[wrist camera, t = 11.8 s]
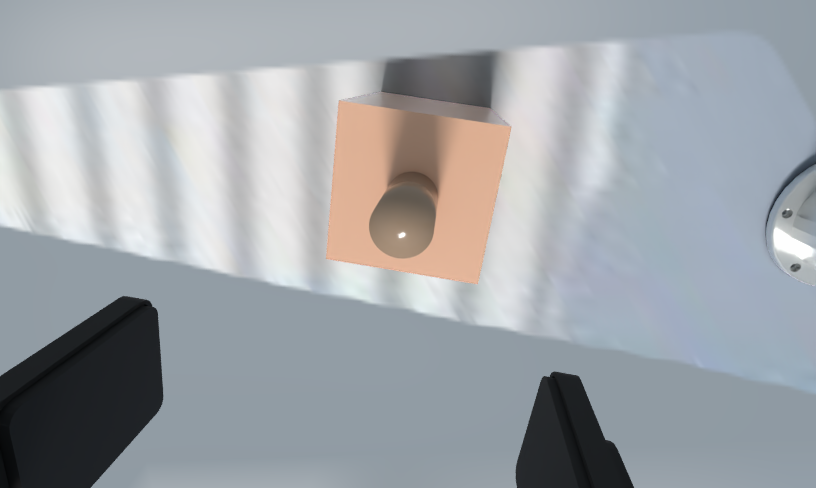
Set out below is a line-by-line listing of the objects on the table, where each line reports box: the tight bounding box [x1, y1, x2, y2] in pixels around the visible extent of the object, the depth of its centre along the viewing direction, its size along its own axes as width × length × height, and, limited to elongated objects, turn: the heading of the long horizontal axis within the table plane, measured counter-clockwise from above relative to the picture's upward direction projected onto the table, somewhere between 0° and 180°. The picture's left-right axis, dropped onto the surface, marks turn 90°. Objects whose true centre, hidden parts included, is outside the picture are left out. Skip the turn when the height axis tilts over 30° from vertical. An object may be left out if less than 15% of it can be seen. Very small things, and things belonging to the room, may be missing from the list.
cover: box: [326, 92, 511, 284], centre depth 32 cm, size 10×10×22 cm
